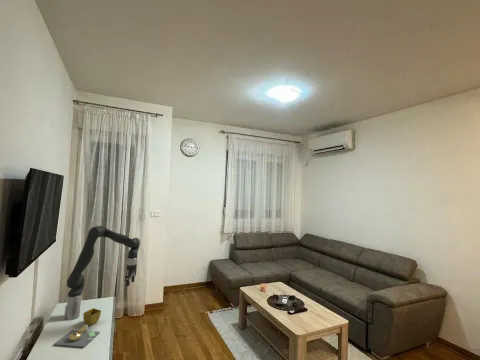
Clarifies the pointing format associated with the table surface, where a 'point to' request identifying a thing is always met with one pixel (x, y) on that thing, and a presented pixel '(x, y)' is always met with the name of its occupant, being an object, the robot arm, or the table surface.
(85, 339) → the board
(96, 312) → the flower pot
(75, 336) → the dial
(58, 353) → the table surface
